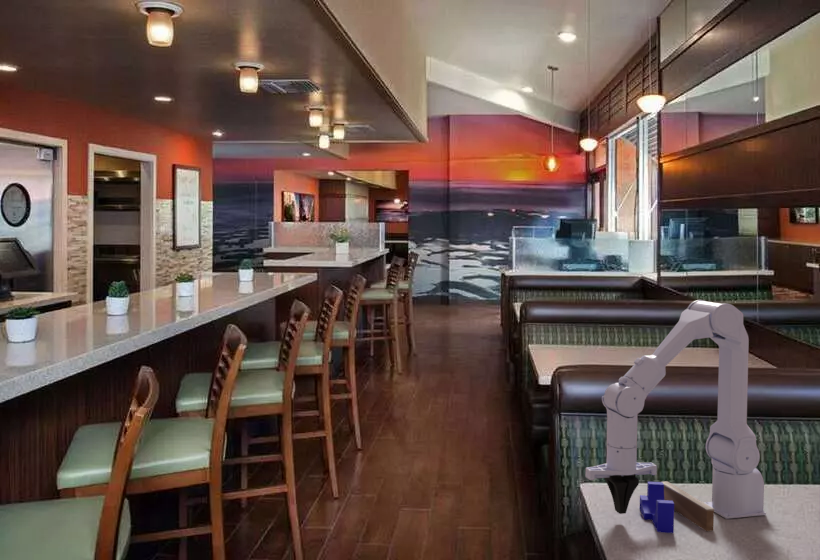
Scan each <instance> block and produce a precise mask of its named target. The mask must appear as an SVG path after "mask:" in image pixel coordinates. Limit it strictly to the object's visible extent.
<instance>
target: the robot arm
mask: <svg viewBox="0 0 820 560" xmlns="http://www.w3.org/2000/svg"><path fill="white" fill-rule="evenodd" d="M709 338H710V339H711V340H712V341H713V342H714V343H715V344H717V346H718V379H717V380H718V381H717V384H718V385H717V419H716V421H715V422H713V424H711V425H710V426H709V434H708V437H707V439H706V442H705V452H706V455H707V456H708V457H709V458H710V459H711V460H710V461H711V464H712V477H711V478H712V479H711V480H712V481H711V482H712V488H711V491H712V492H711V501H706V502H705V501H704V502H703V503H705V504H707V505H708V506H710V507H712V508H713V509H714V513H715V514H716V515H717V514H718V515H719V516H721V517H723V518H724V519H727V520H728V519H739V518H746V517H747V518H748V517H749V518H750V517H756V516H757V517H759V516H766V515H767V512H766V511H764V505H765V502H764V499H765V481H764V478H763V474H762V473H761V472H760V471H759V469H758V468H757V466H758V465H759V462H760V459H761V458H760V457H761V456H760V450H759V448H758V446H757V436H756V434H755V433H754V432H753V430H752V429H751V428H750V427H749V425H748V423H747V421H748V419H747V418H748V389H749V388H748V385H749V378H748V377H749V347H750V346H749V343H750V342H749V341H750V339H749V334H748V332H747V330H746V328H745V325H744V313H743V312H742V311H740V310H739V309H738V307H736V306H734V305H733V304H730V303H722V302H721V303H720V302H715V301H713V302H712V301H706V300H703V299H697V300H696V299H695V300H693V301H692V302H691V303H689V305H688V306H687V308H686V309H684V310H683V311H681V313H680V316H679V320H678V322H677V323H676V324H675V325H674V326H673V327H672V329H671V330H670V331H669V333H668V334H666V336H665V337H664V339H663V340H662V341H661V343H660V344H659V345H658V347H657V348H656V349H655V350H654V352H653V353H652V354H650V355H641V357H636V358H635V359H634V361H633V363H634V365H632V367H630V369H628V371H627V372H626V373H625V374H624V375H623V376H620V377H619V379H618V382H614V383H611V384H610V385H609V386H608V387H607V388H606V390H605V391H604V394H603V395H602V396H601V402H602V405H603V406H604V407H605V409H606V417H607V418H606V420H607V421H606V463H603V464H598V465H594V466H589V467H585V478H586V479H587V480H590V481H594V480H596V479H604V480H605V482H606V484H607V486H608V490H610V494H611V497H612V501H613V507H614V511H616V513H618V514H621V515H623V514H626V513H627V512H628V511H627V510H628V506H629V504H630V501H631V498H632V496H633V493H634V492H635V490H636V489H637V487H638V486H639V482H640V481H639V479H638V478H637V477H636V476H642V475H651V476H657V475H658V474H657V471H658V467H657V466H658V465H657V464H655V463H653V462H638V461H637V459H638V457H637V456H638V455H637V453H638V451H637V450H638V449H637V448H638V415H639V414H640V413H641V412H642V411H643V409H644V407H645V402H646V401H645V400H646V399H647V398H648V397H647V396H648V395H649V394H650V393H651V392H653V390H654V389H655V387H656V386H657V385H658V384H659V383H660V382H661V381H662V379H664V378H665V376H666V374H667V372H666V371H667V370H666V367H667V365H668V364H670V363H671V362H672V360H674V359H675V358H676V357H677V356H678V355H679V354H680V353H681V352H682V351H683V350H685V348H686V347H688V346H689V345H690V344H691V343H692V342H693V341H694V340H699V339H709Z"/></svg>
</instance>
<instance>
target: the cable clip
mask: <svg viewBox="0 0 820 560" xmlns="http://www.w3.org/2000/svg"><path fill="white" fill-rule="evenodd" d="M663 482H664V481H647V486H646V487H647V490H646V491H647V493H646V494H647V495H645V494H644V495H643V494H642V495H641V494H640V495H639V511H640V513H641V515H642V518H643V520H644V521H645V520H648V521H651V522H652V523H653V525H654V528H655V530H656V532H657V533H663V534H664V533H667V534H674V532H675V531H674V527H675V511H674V502H673V501H669V500H664V484H663Z"/></svg>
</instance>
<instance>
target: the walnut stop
mask: <svg viewBox="0 0 820 560" xmlns="http://www.w3.org/2000/svg"><path fill="white" fill-rule="evenodd" d="M662 482H663V484H664V500H669V501H673V502H674V512H676V513H678V514H679V515H680V516H682V517H683V518H685V519H687V520H688V521H690V523H691V522H692V523H693V524H695V525H696V526H698V527H700V528H701V529H702V530H703V531H706V532H712V531H714V521H715V520H714V519H715V518H714V517H715V516H714V514H715V512H714V509H713V508H712V507H710V506H708V505H707V504H705V503H704V502H703V501H701V500H699V498H697V497H695V496H693V495H691V494H690V493H688V492H687V491H684V490H683V489H681V488H679V487H677V486H675V485H674V484H673V483H671V482H669V481H668V480H666V481H662Z"/></svg>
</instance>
